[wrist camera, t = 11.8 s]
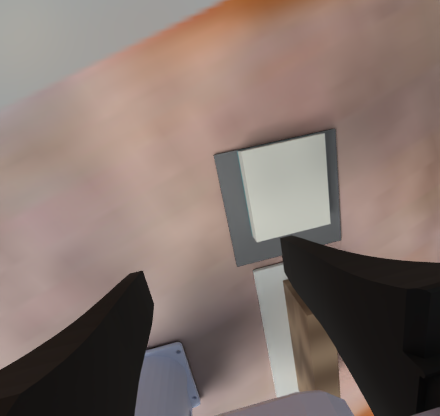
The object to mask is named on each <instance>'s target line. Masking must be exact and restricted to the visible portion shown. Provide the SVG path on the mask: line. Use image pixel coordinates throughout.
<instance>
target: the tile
mask: <svg viewBox="0 0 440 416" xmlns="http://www.w3.org/2000/svg"><path fill="white" fill-rule="evenodd" d="M237 154H238V160H239V165H240V171H241V177H242V182H243V188H244V193H245V199H246V205H247V210H248V216H249V221H250V227H251V233H252V236H253V238H254V239H255V241H256V242H261V241H264V240H268V239H272V238H276V237H280V236H284V235H288V234H292V233H296V232H300V231H304V230H308V229H312V228H316V227H320V226H324V225H328V224H331V223H330V208H329V192H328V177H327V161H326V146H325V133H321V134H313V135H308V136H304V137H299V138H295V139H290V140H286V141H281V142H277V143H272V144H268V145H263V146H259V147H254V148H250V149H245V150H241V151H237Z"/></svg>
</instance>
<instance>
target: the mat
mask: <svg viewBox="0 0 440 416" xmlns="http://www.w3.org/2000/svg"><path fill="white" fill-rule="evenodd" d="M321 133H325V146H326V161H327V177H328V192H329V208H330V223H331V224H328V225H324V226H320V227H316V228H312V229H308V230H304V231H300V232H296V233H292V234H288V235H284V236H280V237H276V238H272V239H268V240H264V241H261V242H256V241H255V239H254V238H253V236H252V233H251V227H250V221H249V216H248V210H247V205H246V199H245V193H244V188H243V182H242V177H241V171H240V165H239V160H238V154H237V151H241V150H245V149H250V148H254V147H259V146H263V145H268V144H272V143H277V142H281V141H286V140H290V139H295V138H299V137H304V136H308V135H313V134H321ZM214 159H215V164H216V169H217V173H218V178H219V183H220V188H221V193H222V197H223V202H224V207H225V212H226V216H227V221H228V226H229V231H230V235H231V240H232V245H233V250H234V255H235V259H236V264H237V267H239V266H243V265H246V264H250V263H254V262H258V261H262V260H266V259H270V258H274V257H278V256H281V255H282V250H281V242H280V238H282V237H286V236H290V235H292V236H296V237H300V238H303V239H306V240H309V241H312V242H315V243H318V244H321V245H324V244H328V243H332V242H336V241H340V240H341V229H340V209H339V190H338V170H337V151H336V131H335V129H330V130H325V131H321V132H316V133H312V134H307V135H303V136H298V137H294V138H289V139H285V140H280V141H276V142H271V143H267V144H262V145H257V146H253V147H248V148H244V149H239V150H235V151H230V152H226V153H221V154H217V155H214Z"/></svg>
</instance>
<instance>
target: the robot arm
mask: <svg viewBox="0 0 440 416" xmlns="http://www.w3.org/2000/svg"><path fill="white" fill-rule="evenodd" d="M280 242H281V250H282V258H283V266H284V272H285V274H286V276H287V278H288V280H289V281H290V283H291V285H292V287H293V288H294V289H295V291H296V292H297V294H298V295H299V296H300V298H301V299H302V300H303V302H304V303H305V304H306V305H307V307H308V308H309V309H310V311H311V312H312V313H313V315H314V316H315V317H316V319H317V320H318V321H319V323H320V324H321V325H322V327H323V328H324V330H325V331H326V333H327V334H328V336H329V338H330V339H331V341H332V343H333V344H334V346H335V347H336V349H337V351H338V352H339V354H340V356H341V357H342V359H343V361H344V363H345V364H346V366H347V368H348V369H349V371H350V373H351V374H352V376H353V378H354V380H355V382H356V383H357V385H358V387H359V389H360V390H361V392H362V394H363V396H364V398H365V399H366V401H367V403H368V405H369V407H370V408H371V410H372V412H373V414H374V416H440V263H431V262H413V261H401V260H392V259H384V258H377V257H370V256H365V255H360V254H355V253H350V252H346V251H342V250H338V249H335V248H331V247H328V246H325V245H321V244H318V243H315V242H312V241H309V240H306V239H303V238H300V237H296V236H292V235H290V236H286V237H282V238H280ZM153 310H154V303H153V300H152V297H151V294H150V291H149V288H148V285H147V282H146V279H145V276H144V273H143V271H139V272H135V273H130V274H129V275H128V276H126V277H125V278H124V279H123V280H122V281H121V282H120V283H118V284H117V285H116V286H115V287H114V288H113V289H112V290H111V291H110V292H109V293H108V294H106V295H105V296H104V297H103V298H102V299H101V300H100V301H99V302H97V303H96V304H95V305H94V306H93V307H92V308H90V309H89V310H88V311H87V312H86V313H85V314H83V315H82V316H81V317H80V318H78V319H77V320H76V321H75V322H73V323H72V324H71V325H69V326H68V327H66V328H65V329H64V330H62V331H61V332H60V333H58V334H57V335H55V336H54V337H52V338H51V339H49V340H48V341H46V342H45V343H43V344H42V345H40V346H39V347H37V348H36V349H34V350H33V351H31V352H30V353H28V354H26V355H25V356H23V357H21V358H20V359H18V360H16V361H15V362H13V363H11V364H10V365H8V366H6V367H4V368H3V369H1V370H0V416H192V408H194V407H197V406H199V405H200V397H199V394H198V391H197V388H196V385H195V382H194V379H193V376H192V373H191V370H190V367H189V364H188V361H187V358H186V355H185V352H184V349H183V346H182V344H181V343H180V342H175V343H172V344H168V345H164V346H161V347H157V348H153V349H150V350H146V348H147V344H148V340H149V335H150V331H151V326H152V320H153ZM177 350H180V351H177ZM216 416H354V415H353V413H352V412H351V410H350V408H349V407H348V405H347V403H346V402H345V400H343V399H341V398H339V397H336V396H334V395H332V394H329V393H327V392H324V391H321V390H314V391H303V392H295V393H292V394H288V395H285V396H281V397H278V398H274V399H271V400H267V401H264V402H260V403H257V404H254V405H250V406H247V407H243V408H240V409H236V410H233V411H229V412H226V413H222V414H219V415H216Z"/></svg>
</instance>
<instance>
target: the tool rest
mask: <svg viewBox="0 0 440 416" xmlns="http://www.w3.org/2000/svg"><path fill="white" fill-rule="evenodd" d="M253 274H254V280H255V285H256V290H257V296H258V301H259V306H260V312H261V317H262V322H263V328H264V333H265V338H266V344H267V349H268V354H269V360H270V365H271V370H272V376H273V381H274V387H275V392H276V397H277V398H278V397H281V396H285V395H288V394H292V393H295V392H299V389H298V383H297V377H296V370H295V363H294V356H293V349H292V342H291V335H290V328H289V321H288V314H287V307H286V300H285V293H284V286H283V280H287V279H288V278H287V276H286V274H285V272H284V266H283V262H282V263H278V264H274V265H270V266H267V267H263V268H259V269H255V270H253Z"/></svg>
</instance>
